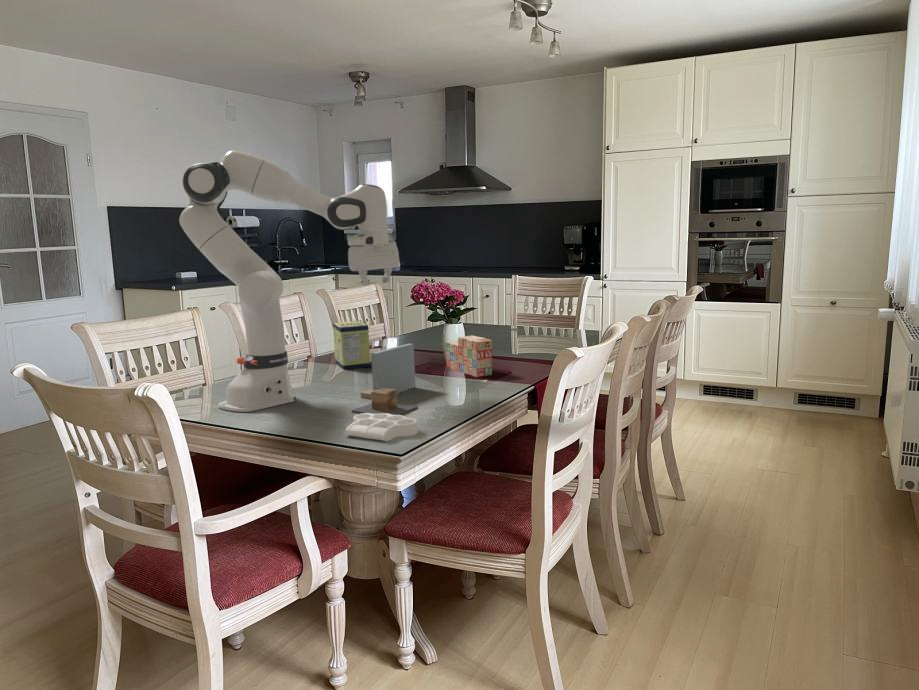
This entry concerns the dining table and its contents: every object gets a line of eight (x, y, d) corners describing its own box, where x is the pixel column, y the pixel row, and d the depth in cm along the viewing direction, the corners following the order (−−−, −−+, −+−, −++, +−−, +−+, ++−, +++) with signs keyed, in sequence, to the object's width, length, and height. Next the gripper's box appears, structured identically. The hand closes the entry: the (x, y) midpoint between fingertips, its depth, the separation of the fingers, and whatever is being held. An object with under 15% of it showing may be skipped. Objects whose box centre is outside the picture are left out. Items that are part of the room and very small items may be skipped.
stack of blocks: (445, 367, 244) (444, 333, 242) (460, 365, 247) (459, 332, 245) (477, 377, 226) (476, 341, 224) (492, 375, 229) (492, 339, 227)
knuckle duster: (334, 437, 166) (369, 421, 178) (396, 446, 157) (428, 429, 170) (334, 424, 165) (368, 409, 178) (395, 432, 157) (427, 416, 169)
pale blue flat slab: (378, 400, 199) (376, 353, 196) (360, 397, 203) (358, 351, 200) (415, 387, 214) (413, 343, 211) (398, 385, 217) (396, 342, 215)
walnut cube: (386, 411, 184) (385, 393, 183) (372, 409, 187) (371, 391, 186) (397, 407, 188) (396, 389, 187) (383, 405, 191) (382, 387, 190)
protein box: (361, 359, 262) (359, 320, 260) (371, 367, 248) (368, 325, 245) (334, 362, 259) (332, 322, 256) (343, 370, 244) (340, 327, 242)
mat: (390, 418, 179) (390, 416, 179) (351, 412, 186) (351, 410, 186) (418, 408, 189) (417, 406, 188) (379, 402, 196) (379, 400, 196)
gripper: (387, 238, 216) (389, 281, 218) (343, 240, 199) (346, 286, 201) (403, 237, 212) (405, 281, 215) (359, 239, 196) (362, 287, 198)
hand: (376, 284), depth 208 cm, fingers open, 8 cm apart
